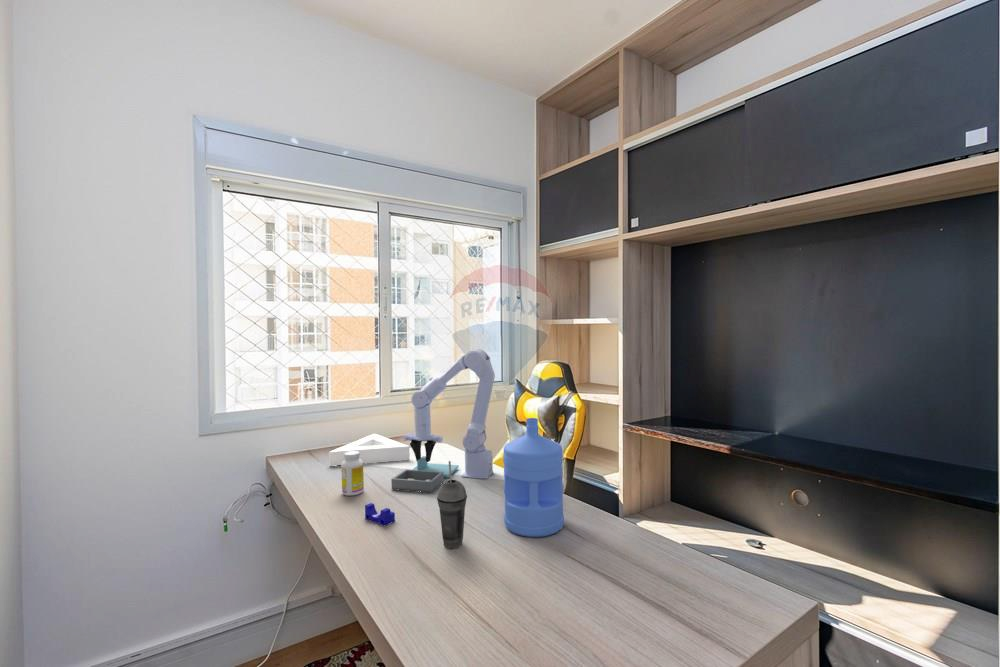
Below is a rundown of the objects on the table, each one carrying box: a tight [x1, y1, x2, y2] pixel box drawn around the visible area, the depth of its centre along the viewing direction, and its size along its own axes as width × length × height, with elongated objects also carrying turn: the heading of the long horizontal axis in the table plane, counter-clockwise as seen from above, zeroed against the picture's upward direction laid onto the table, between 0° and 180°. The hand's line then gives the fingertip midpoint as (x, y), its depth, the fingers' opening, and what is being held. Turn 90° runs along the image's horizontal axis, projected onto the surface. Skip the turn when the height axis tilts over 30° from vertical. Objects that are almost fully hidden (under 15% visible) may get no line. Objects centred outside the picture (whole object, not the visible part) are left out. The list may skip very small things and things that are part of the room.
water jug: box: [502, 417, 565, 538], centre depth 120 cm, size 16×16×28 cm
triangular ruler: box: [328, 433, 411, 466], centre depth 190 cm, size 30×26×6 cm
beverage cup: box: [436, 460, 468, 549], centre depth 110 cm, size 7×7×20 cm
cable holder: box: [364, 502, 396, 526], centre depth 125 cm, size 8×4×4 cm, turn 55°
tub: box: [391, 469, 445, 494], centre depth 151 cm, size 14×10×4 cm
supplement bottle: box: [340, 451, 365, 497], centre depth 146 cm, size 7×7×13 cm
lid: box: [411, 455, 459, 478], centre depth 165 cm, size 15×11×5 cm
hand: (423, 461), depth 166 cm, fingers open, 3 cm apart
